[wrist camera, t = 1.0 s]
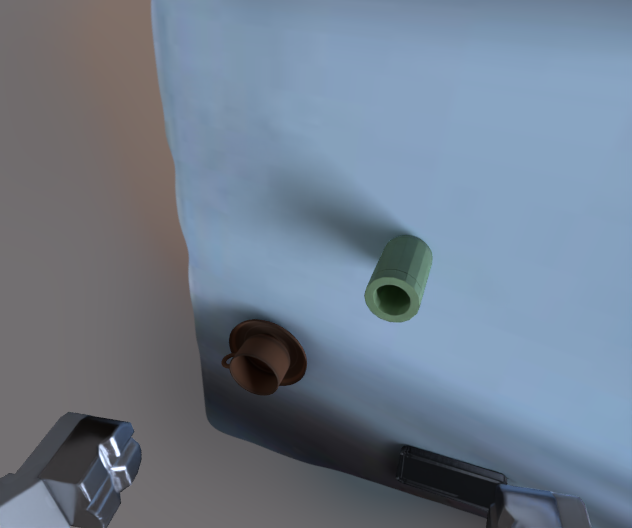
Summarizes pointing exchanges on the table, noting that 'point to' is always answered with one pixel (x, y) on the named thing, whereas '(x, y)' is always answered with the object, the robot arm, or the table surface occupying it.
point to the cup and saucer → (264, 357)
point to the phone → (448, 477)
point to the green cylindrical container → (399, 279)
